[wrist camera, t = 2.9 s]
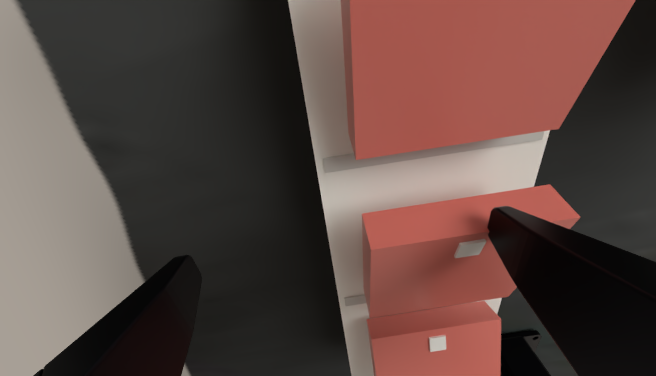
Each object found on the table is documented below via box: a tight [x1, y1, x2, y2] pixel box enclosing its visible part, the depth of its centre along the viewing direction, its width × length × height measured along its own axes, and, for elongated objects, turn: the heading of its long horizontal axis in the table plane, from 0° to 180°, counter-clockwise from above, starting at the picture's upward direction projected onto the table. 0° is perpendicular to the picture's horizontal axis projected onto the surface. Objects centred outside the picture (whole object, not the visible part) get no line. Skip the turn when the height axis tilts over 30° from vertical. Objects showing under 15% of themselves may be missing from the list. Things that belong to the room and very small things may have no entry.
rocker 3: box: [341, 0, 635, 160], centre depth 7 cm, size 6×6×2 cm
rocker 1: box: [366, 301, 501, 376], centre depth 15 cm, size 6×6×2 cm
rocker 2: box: [362, 184, 580, 318], centre depth 11 cm, size 6×6×2 cm
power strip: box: [288, 0, 550, 376], centre depth 15 cm, size 28×9×4 cm, turn 7°
